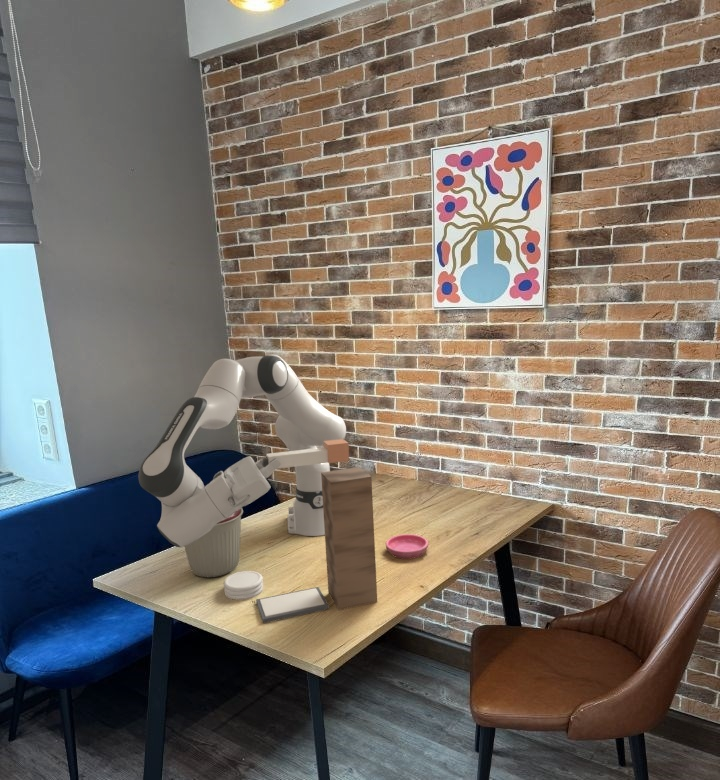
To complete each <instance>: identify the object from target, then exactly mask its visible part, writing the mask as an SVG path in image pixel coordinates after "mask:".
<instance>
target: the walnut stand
mask: <svg viewBox="0 0 720 780" xmlns="http://www.w3.org/2000/svg"><path fill="white" fill-rule="evenodd" d="M321 480H322V496H323V512H324V528H325V535H324V541H325V542H324V543H325V557H326V559H325V561H326V574H327V575H326V576H327V589H328V591H327V592H328V595H329V597H330V598H331V600H332V602H333V604H334V605H335V607H336V608H337V610H338V611H341V610H346V609H350V608H356V607H360V606H365V605H368V604H375V603H378V590H377V588H378V586H377V565H376V547H375V546H376V545H375V544H376V543H375V526H374V525H375V524H374V523H375V522H374V505H373V500H374V499H373V483H372V481H373V480H372V476H371V475H370V474H369V473H368V472H366V471H365V470H364V469H363V468H362V467H360V466H357V467H350V468H344V469H343V468H342V469H337V470H330V471H328V472H321Z"/></svg>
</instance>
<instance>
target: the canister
mask: <svg viewBox="0 0 720 780" xmlns="http://www.w3.org/2000/svg"><path fill="white" fill-rule="evenodd" d="M243 514H244V510H243V507H242V508H241V509H239V510H238V511H236V512H235V513H234V514H232V515H231V516H230V517H228V518H227V519H225V520H223V521H220V522H218V523H217V524H216V525H215V526H214V527H213V528H212V529H211V530H210V531H209V532H208V533H206V534H205V535H203V536H202V537H201V538H199V539H197V540H196V541H194V542H193V543H191V544H189V545H187V546H184V550H185V555H186V559H187V562H188V566H189V568H190V570H191V572H192V573H193V574H195V576H198V577H200V578H217V577H221V576H225V575H226V574H229V573H231V572H232V571H234V570H235V569H236V568H237V566H238V564H239V562H240V554H241V553H240V552H241V526H242V516H243Z"/></svg>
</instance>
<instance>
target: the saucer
mask: <svg viewBox="0 0 720 780" xmlns="http://www.w3.org/2000/svg"><path fill="white" fill-rule="evenodd" d="M385 548H386V549H387V551H388V552H389V553H390V554H391V555H392V556H393V555H394V556H393V557H395V558H399V559H402V558H403V560H404V559H406V560H409V559H410V558H412V559H417V558H419V557H421V556H422V555H424V553H425V552H426V551H427V549H428V548H429V541H428V539H427V538H426V537H424V536H422V535H420V534H419V535H418V534H414V533H413V534H411V533H404V534H397V535H394V536H391V537H390V538H388V539H387V540H386V542H385ZM410 560H411V559H410Z"/></svg>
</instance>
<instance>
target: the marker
mask: <svg viewBox="0 0 720 780" xmlns="http://www.w3.org/2000/svg"><path fill="white" fill-rule="evenodd" d="M349 448H350V445H349V442H348V441H347V440H345V438H344V439H338V440H329V441H323V448H322V447H317V448H314V449H305V450H296V451H289V450H288V451H281V452H280V451H279V452H271V453H265V455H266V456H265V457H261V459H262V466H263V467H266V466H267V465H268V464H269V463H270V461H271V460H273V459H274V458H277V459H278V461H279V462H280V464H281V465H280V466H279V467H278V468H276V469H284V468H293V467H294V468H295V466H303V465H312V464H320V463H329V464H334V463H335V464H336V463H342V462H350V449H349ZM276 469H275V470H276Z"/></svg>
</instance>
